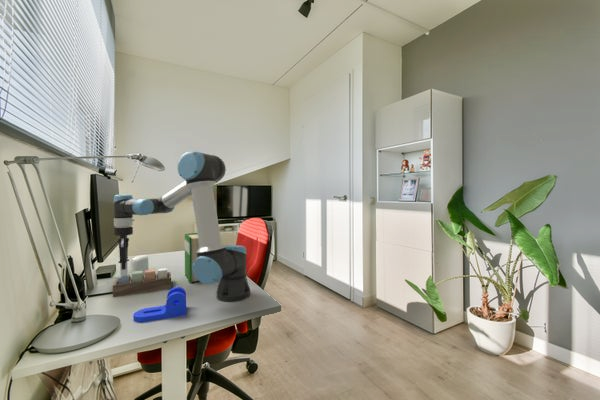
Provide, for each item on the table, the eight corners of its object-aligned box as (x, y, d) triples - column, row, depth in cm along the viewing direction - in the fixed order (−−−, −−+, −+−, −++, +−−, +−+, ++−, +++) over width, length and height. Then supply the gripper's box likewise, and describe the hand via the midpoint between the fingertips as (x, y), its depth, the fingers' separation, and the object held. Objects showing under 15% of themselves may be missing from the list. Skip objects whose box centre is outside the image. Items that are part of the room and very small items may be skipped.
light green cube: (142, 281, 130) (142, 272, 130) (132, 282, 128) (132, 274, 128) (142, 278, 134) (142, 270, 134) (132, 279, 132) (132, 271, 132)
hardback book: (204, 281, 143) (204, 236, 143) (189, 283, 139) (189, 237, 139) (198, 273, 158) (198, 232, 158) (184, 275, 154) (184, 233, 154)
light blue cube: (128, 284, 127) (128, 276, 127) (118, 286, 125) (118, 277, 125) (129, 282, 131) (129, 274, 131) (119, 283, 129) (119, 275, 129)
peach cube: (155, 279, 132) (154, 271, 132) (145, 280, 130) (145, 272, 130) (155, 277, 136) (155, 269, 136) (145, 278, 134) (145, 270, 134)
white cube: (167, 277, 135) (167, 269, 135) (158, 279, 133) (157, 271, 133) (167, 275, 139) (167, 267, 139) (158, 276, 137) (158, 269, 137)
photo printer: (136, 280, 144) (136, 258, 144) (129, 280, 144) (129, 257, 144) (149, 275, 154) (149, 253, 154) (143, 274, 155) (142, 253, 154)
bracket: (186, 307, 110) (185, 285, 110) (186, 315, 103) (186, 292, 102) (135, 315, 103) (135, 291, 103) (131, 324, 95) (131, 299, 95)
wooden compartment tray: (171, 288, 132) (171, 278, 132) (112, 296, 121) (112, 285, 121) (170, 281, 143) (170, 271, 143) (116, 288, 132) (116, 278, 132)
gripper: (131, 227, 124) (131, 278, 124) (133, 224, 135) (134, 271, 136) (111, 228, 120) (112, 280, 121) (116, 225, 132) (116, 273, 132)
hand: (123, 275), depth 128 cm, fingers closed
